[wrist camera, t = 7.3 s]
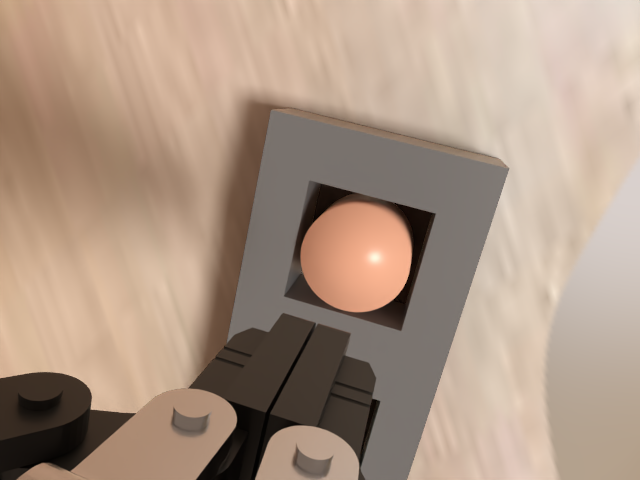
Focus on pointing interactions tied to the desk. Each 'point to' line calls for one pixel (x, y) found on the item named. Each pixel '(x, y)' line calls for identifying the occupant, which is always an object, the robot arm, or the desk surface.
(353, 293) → the terracotta button
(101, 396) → the desk surface
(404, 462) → the button panel
